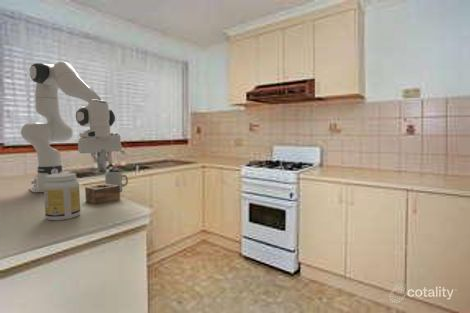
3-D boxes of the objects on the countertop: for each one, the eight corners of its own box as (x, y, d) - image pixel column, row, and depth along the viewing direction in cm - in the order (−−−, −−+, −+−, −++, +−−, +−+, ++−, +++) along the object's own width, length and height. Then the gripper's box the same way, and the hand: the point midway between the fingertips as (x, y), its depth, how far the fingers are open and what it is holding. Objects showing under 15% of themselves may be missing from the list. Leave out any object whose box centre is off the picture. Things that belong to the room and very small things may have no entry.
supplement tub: (73, 210, 124) (71, 171, 122) (86, 216, 116) (84, 174, 115) (40, 217, 114) (38, 175, 113) (52, 223, 107) (49, 178, 105)
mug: (108, 194, 156) (107, 174, 156) (104, 191, 163) (103, 172, 162) (130, 191, 164) (129, 172, 163) (125, 189, 171) (125, 170, 170)
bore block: (85, 201, 141) (85, 187, 140) (109, 196, 150) (108, 183, 150) (96, 204, 135) (95, 189, 134) (120, 199, 144) (119, 185, 144)
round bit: (96, 172, 141) (95, 149, 140) (104, 171, 144) (103, 149, 143) (100, 172, 138) (99, 149, 137) (108, 171, 141) (107, 149, 141)
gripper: (116, 133, 150) (117, 159, 151) (75, 133, 133) (77, 163, 135) (123, 133, 146) (124, 160, 147) (82, 133, 130) (83, 163, 131)
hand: (101, 161), depth 141 cm, fingers closed on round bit, 4 cm apart
